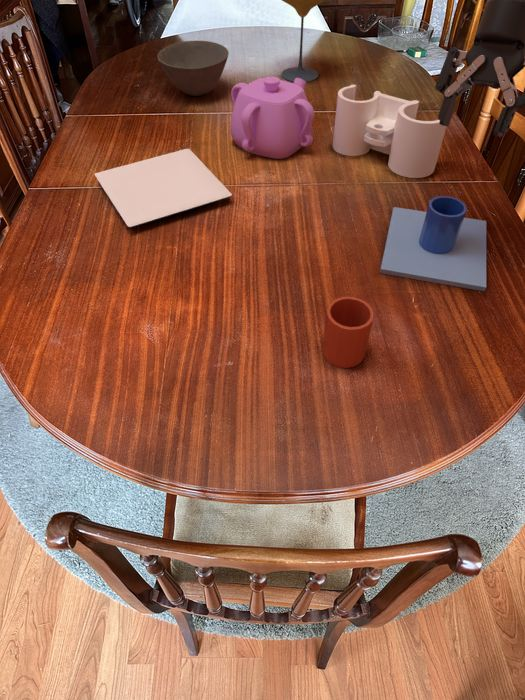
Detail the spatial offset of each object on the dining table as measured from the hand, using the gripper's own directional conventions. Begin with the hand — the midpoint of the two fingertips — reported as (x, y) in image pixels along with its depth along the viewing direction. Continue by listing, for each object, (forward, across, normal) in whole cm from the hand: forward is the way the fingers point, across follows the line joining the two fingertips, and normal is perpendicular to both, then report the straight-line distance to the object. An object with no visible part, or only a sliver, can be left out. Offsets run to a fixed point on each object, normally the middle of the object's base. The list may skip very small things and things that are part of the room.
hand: (469, 130), depth 76 cm
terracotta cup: (+35, -1, -16) cm, 38 cm away
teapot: (+8, -54, +19) cm, 58 cm away
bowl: (+2, -88, +22) cm, 90 cm away
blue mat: (+20, -4, +12) cm, 23 cm away
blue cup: (+18, -4, +12) cm, 22 cm away
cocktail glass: (-10, -74, +48) cm, 89 cm away
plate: (+24, -56, -10) cm, 62 cm away
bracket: (+6, -30, +30) cm, 43 cm away
